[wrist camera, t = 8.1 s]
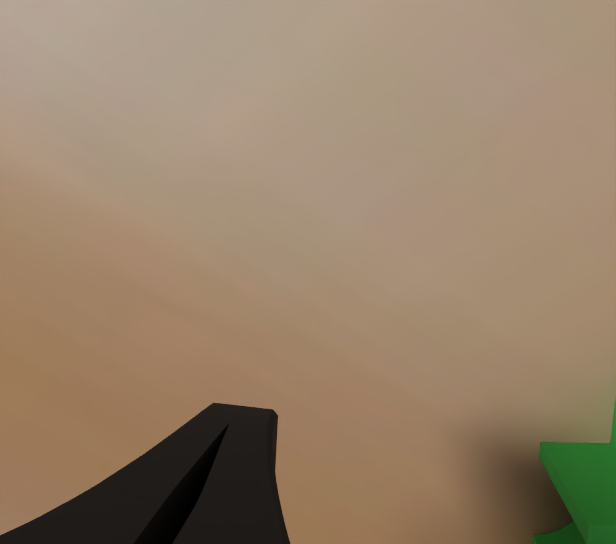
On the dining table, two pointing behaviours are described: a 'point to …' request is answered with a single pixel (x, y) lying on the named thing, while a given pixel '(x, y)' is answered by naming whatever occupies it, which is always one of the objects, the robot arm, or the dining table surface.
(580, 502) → the pipe clamp
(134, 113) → the dining table surface
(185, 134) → the dining table surface
